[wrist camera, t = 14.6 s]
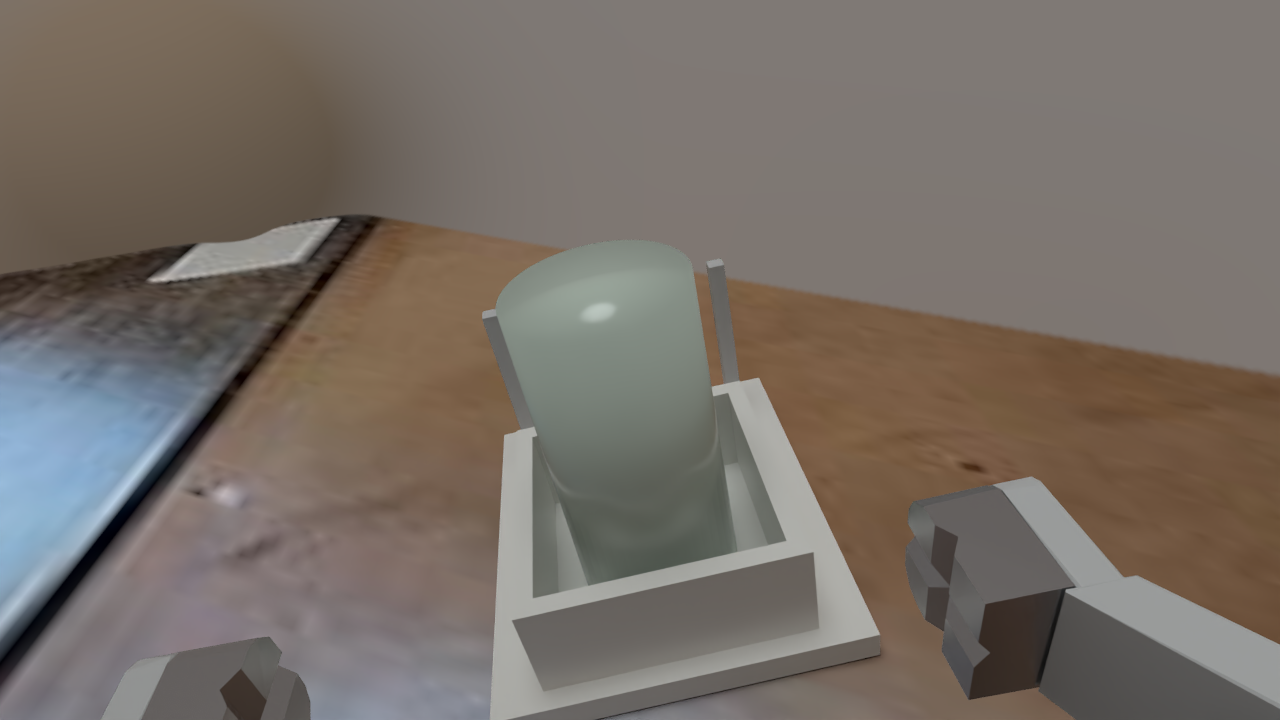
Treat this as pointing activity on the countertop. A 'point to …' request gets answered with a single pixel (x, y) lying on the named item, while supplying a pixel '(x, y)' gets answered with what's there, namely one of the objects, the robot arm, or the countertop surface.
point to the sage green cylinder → (622, 404)
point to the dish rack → (669, 577)
